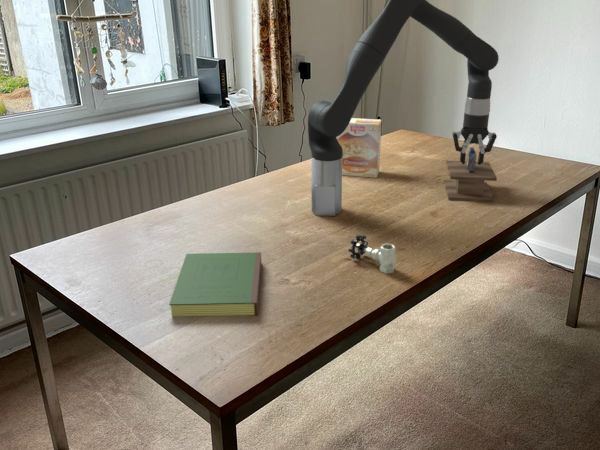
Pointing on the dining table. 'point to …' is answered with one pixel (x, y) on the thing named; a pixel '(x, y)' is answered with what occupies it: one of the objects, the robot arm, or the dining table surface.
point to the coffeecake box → (361, 147)
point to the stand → (469, 182)
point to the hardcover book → (217, 285)
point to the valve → (375, 253)
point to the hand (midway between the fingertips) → (471, 163)
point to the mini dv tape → (471, 160)
